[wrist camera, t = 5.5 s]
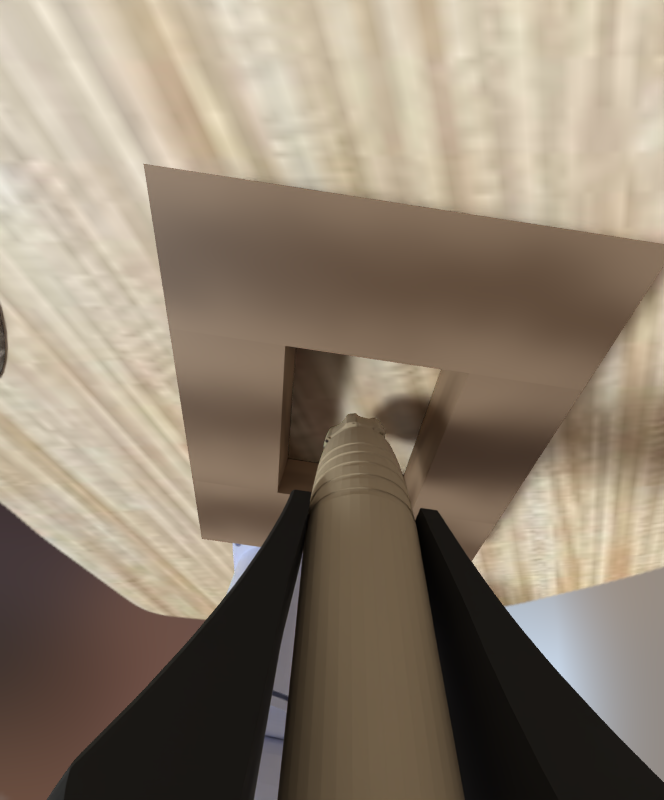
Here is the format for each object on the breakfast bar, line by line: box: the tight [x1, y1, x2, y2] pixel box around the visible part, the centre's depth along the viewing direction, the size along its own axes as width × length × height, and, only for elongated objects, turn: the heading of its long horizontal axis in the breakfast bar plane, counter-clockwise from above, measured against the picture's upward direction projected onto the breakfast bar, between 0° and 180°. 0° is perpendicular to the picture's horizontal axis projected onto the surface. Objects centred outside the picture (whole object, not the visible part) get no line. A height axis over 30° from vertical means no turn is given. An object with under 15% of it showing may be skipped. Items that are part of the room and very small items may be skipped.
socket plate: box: [144, 164, 664, 561], centre depth 15 cm, size 20×18×3 cm
